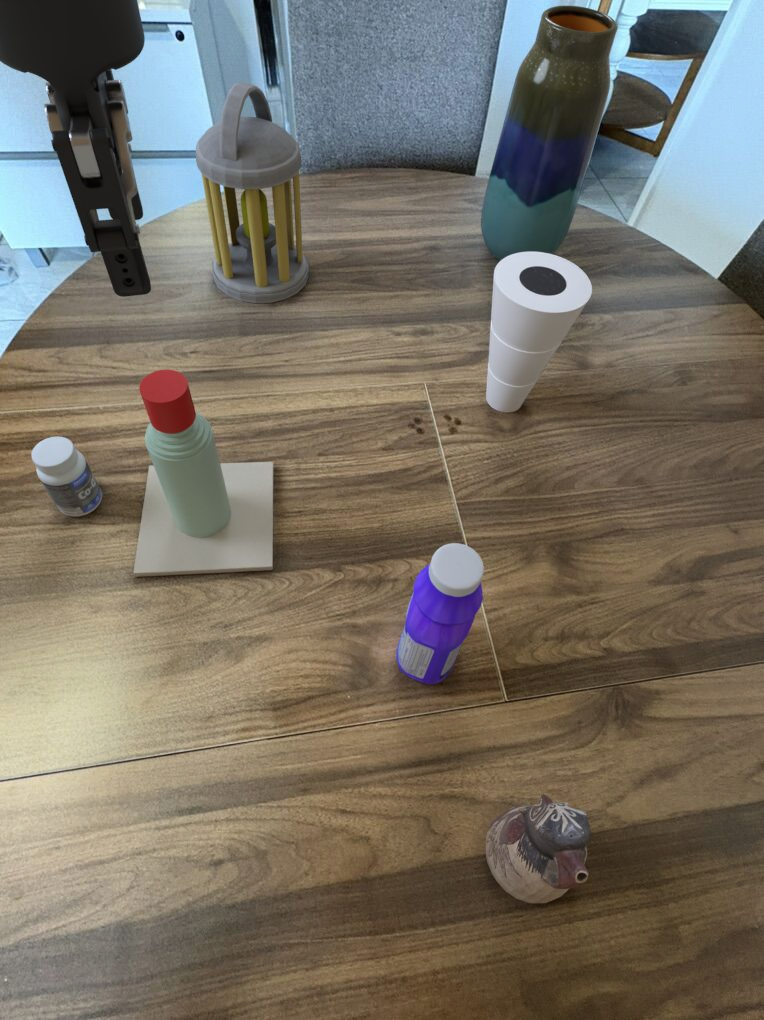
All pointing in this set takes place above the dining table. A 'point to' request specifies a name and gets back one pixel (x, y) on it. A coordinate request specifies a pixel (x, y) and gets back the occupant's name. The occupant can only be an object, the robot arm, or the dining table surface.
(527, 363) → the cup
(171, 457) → the water bottle
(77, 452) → the pill bottle
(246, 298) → the lantern
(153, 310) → the dining table surface
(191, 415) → the cap
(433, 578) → the bottle
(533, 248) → the vase
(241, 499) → the coaster
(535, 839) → the figurine
